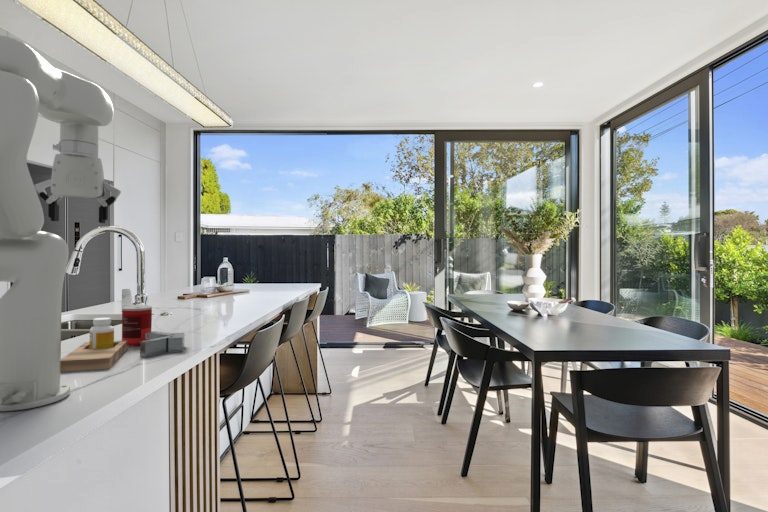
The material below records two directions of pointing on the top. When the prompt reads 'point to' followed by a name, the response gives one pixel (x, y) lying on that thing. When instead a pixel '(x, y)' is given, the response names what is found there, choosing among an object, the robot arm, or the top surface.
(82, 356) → the wooden board with cutout
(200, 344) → the top surface
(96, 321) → the supplement bottle
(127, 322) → the canned food
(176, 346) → the v block
